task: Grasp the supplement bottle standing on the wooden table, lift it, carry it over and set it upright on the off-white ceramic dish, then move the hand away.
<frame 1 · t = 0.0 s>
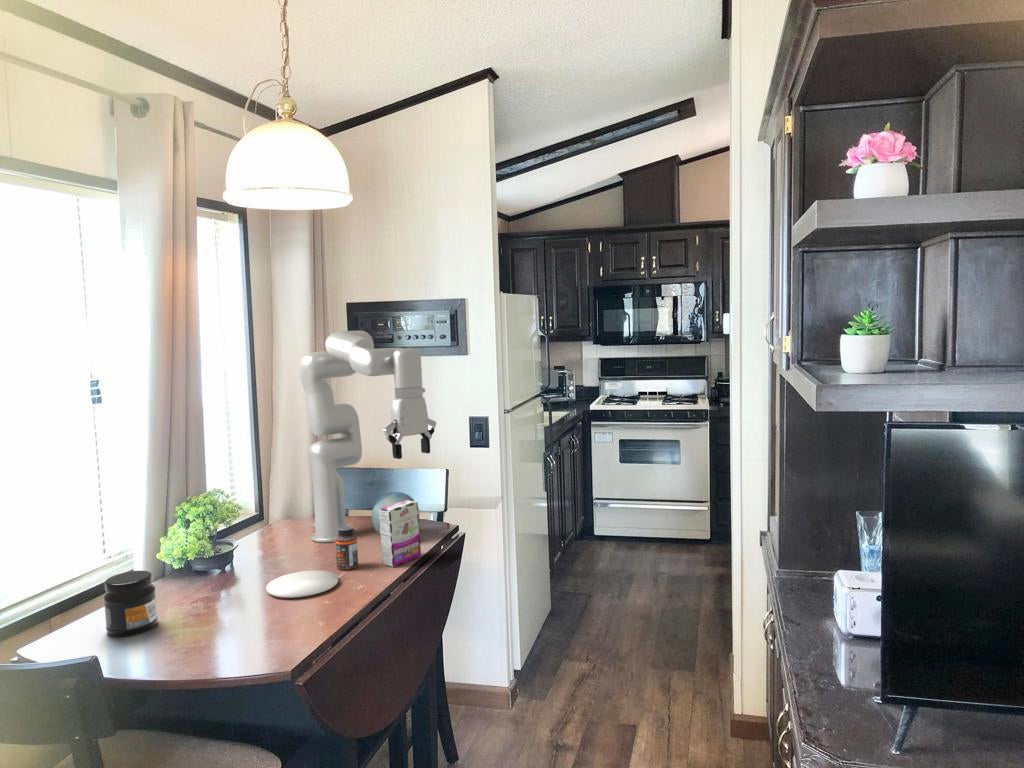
hand: (411, 455, 196), 31 cm above the table, tool pointing down, fingers open, 9 cm apart
supplement bottle: (347, 568, 200), on the table
decorative ball: (396, 539, 226), on the table
supplement container: (132, 629, 163), on the table
candy bar box: (401, 561, 204), on the table
dish: (302, 586, 186), on the table
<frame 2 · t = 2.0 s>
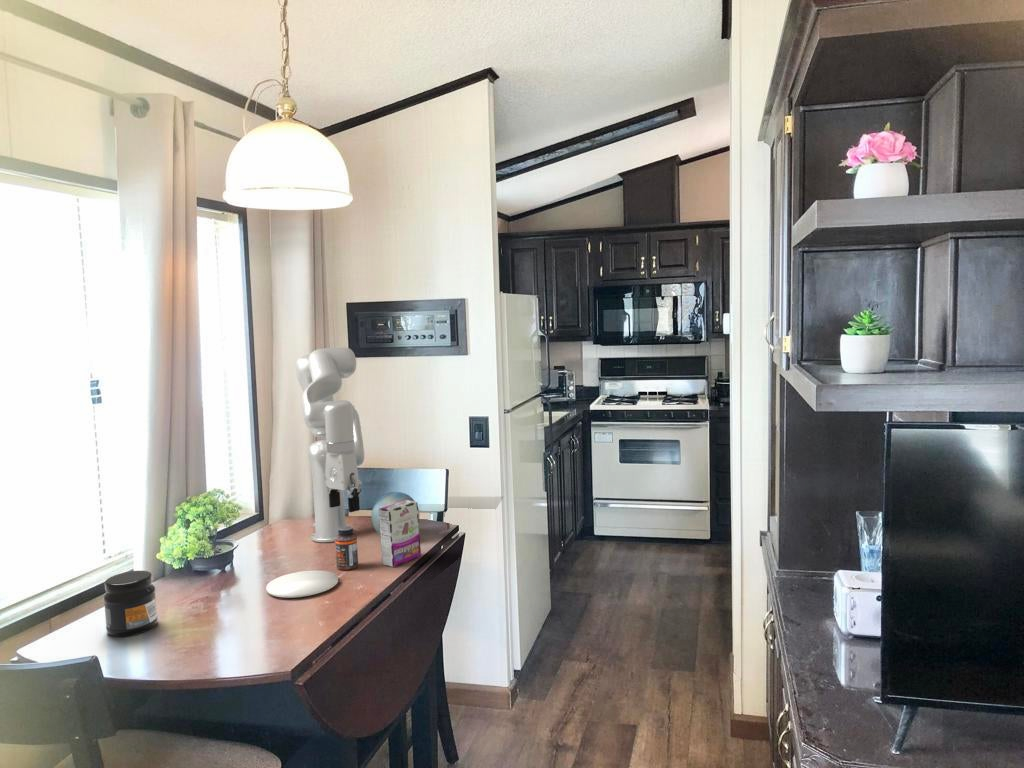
hand: (344, 508, 198), 17 cm above the table, tool pointing down, fingers open, 9 cm apart
nothing on the table moved.
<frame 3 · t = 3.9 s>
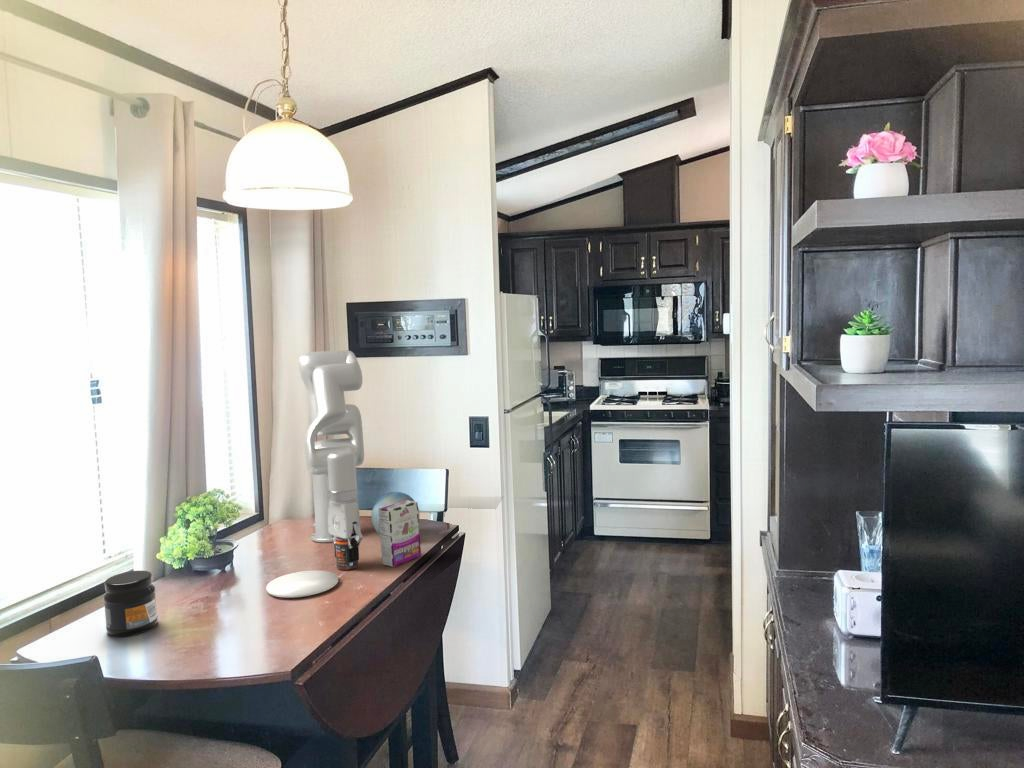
hand: (347, 558, 200), 3 cm above the table, tool pointing down, fingers closed on supplement bottle, 6 cm apart
supplement bottle: (347, 568, 200), on the table, touching gripper
everything else where it was.
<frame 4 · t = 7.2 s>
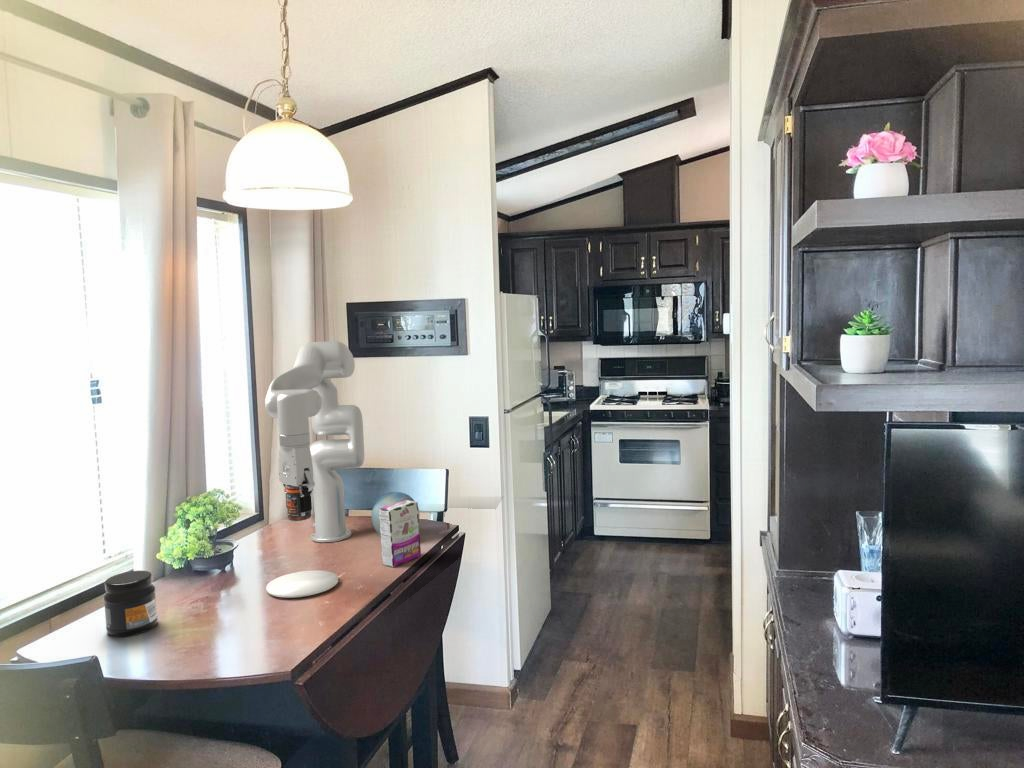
hand: (299, 508, 185), 21 cm above the table, tool pointing down, fingers closed on supplement bottle, 6 cm apart
supplement bottle: (299, 519, 185), point 18 cm above the table, touching gripper
everything else where it was.
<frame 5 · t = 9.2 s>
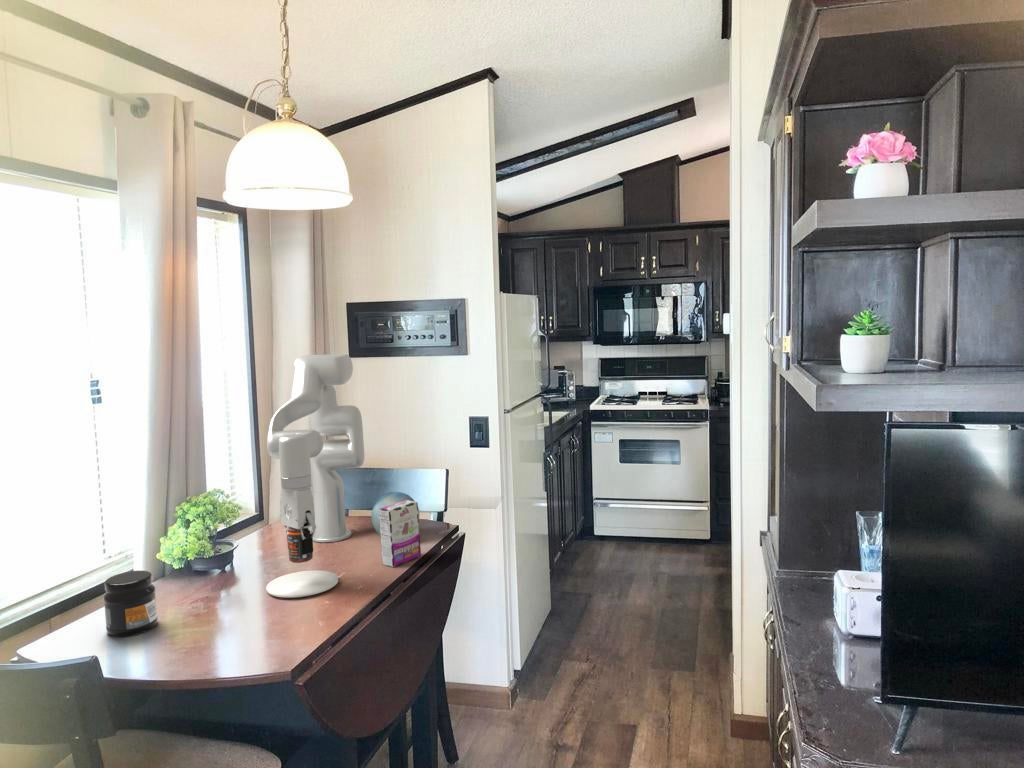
hand: (300, 550, 185), 10 cm above the table, tool pointing down, fingers closed on supplement bottle, 6 cm apart
supplement bottle: (301, 560, 185), point 7 cm above the table, touching gripper
everything else where it was.
when the fingers open (5 cm above the table, at t = 10.7 s): supplement bottle stays where it is, resting on dish.
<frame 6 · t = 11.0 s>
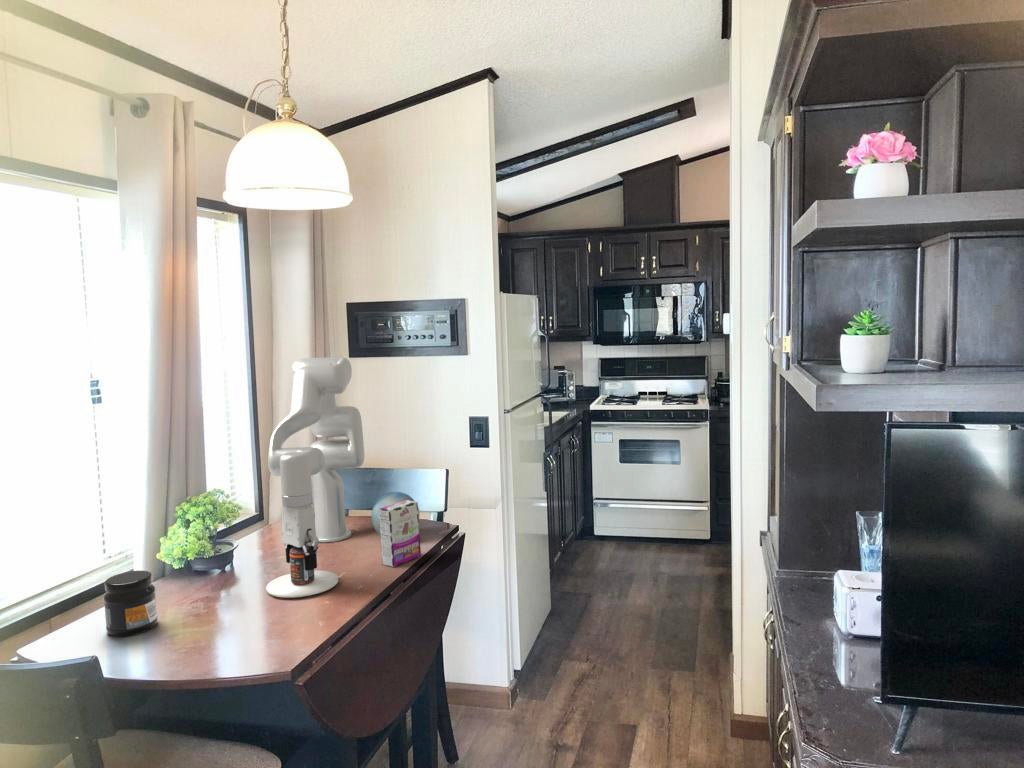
hand: (301, 565, 186), 6 cm above the table, tool pointing down, fingers open, 9 cm apart
supplement bottle: (303, 582, 186), point 1 cm above the table, touching dish
everything else where it was.
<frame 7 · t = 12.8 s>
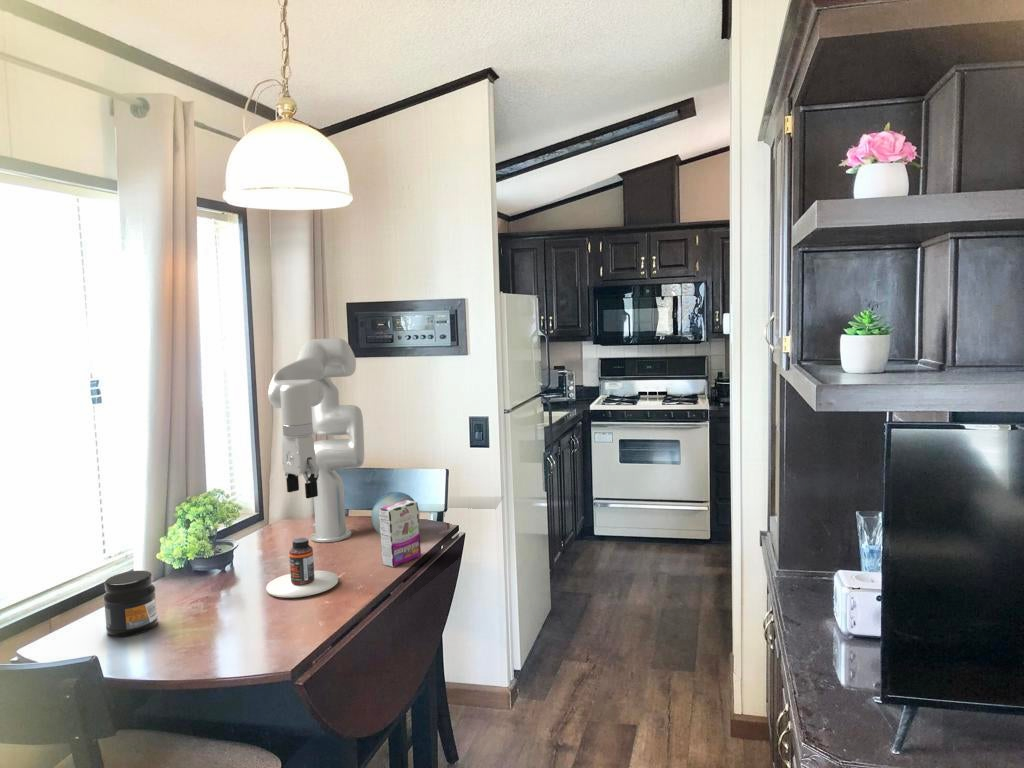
hand: (302, 494, 188), 24 cm above the table, tool pointing down, fingers open, 9 cm apart
nothing on the table moved.
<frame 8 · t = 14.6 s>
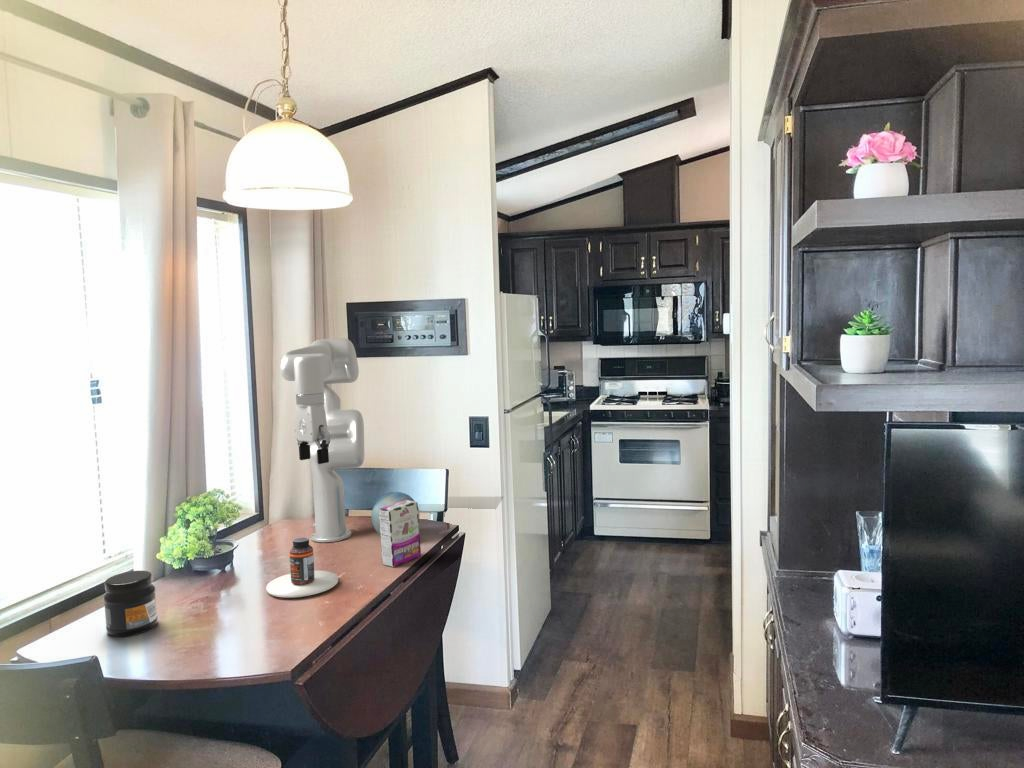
hand: (314, 461, 199), 30 cm above the table, tool pointing down, fingers open, 9 cm apart
nothing on the table moved.
at the end: supplement bottle inside the target area on the dish (0.2 cm from its centre), point 1.0 cm above the dish's base; supplement bottle tilted 1°; the gripper is holding nothing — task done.
